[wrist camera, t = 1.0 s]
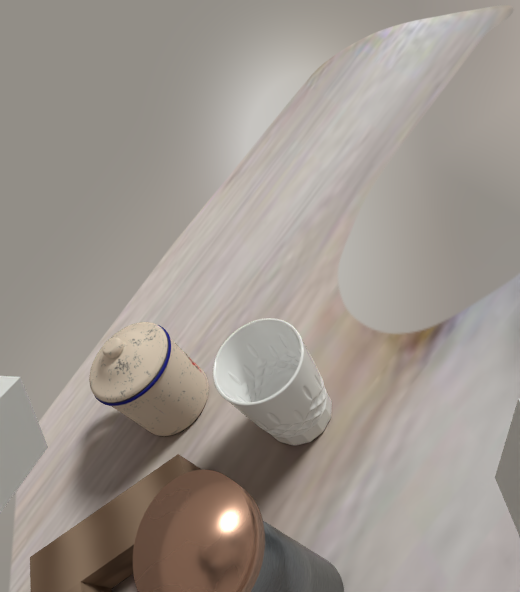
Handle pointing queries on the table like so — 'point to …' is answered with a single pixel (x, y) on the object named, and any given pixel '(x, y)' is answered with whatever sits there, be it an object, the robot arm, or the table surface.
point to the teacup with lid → (149, 379)
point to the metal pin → (220, 544)
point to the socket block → (102, 540)
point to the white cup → (273, 381)
